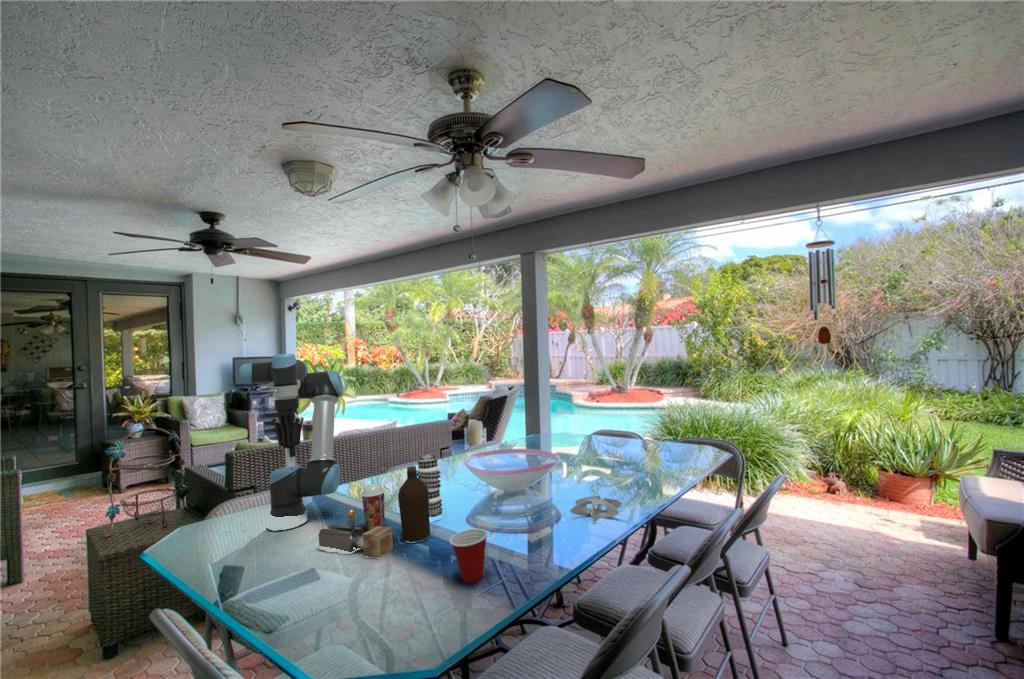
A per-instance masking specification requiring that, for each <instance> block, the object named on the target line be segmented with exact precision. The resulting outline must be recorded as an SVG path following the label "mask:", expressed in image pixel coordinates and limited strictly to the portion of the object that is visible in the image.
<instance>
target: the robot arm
mask: <svg viewBox="0 0 1024 679" xmlns="http://www.w3.org/2000/svg"><path fill="white" fill-rule="evenodd" d="M238 377H239V378H238V379H239V381H240V383H242V384H243V385H253V384H255V385H257V384H258V385H261V386H263V387H266V388H271V389H273V397H274V399H275V400H274V402H273V403H274V410H275V411H277V413H276V417H275V418H273V419H271V422H272V423H273V426H274V429H275V433H276V439H277V443H278V445H279V447H282V448H283V453H284V454H283V455H284V460H285V466H284V467H280V468H278V469H276V470H273V471H272V472H270V474H269V483H268V485H269V493H270V494H269V498H270V512H269V515H270V514H271V515H272V516H275V517H284V516H298V515H302V514H304V513H305V510H306V507H305V505H304V501H303V498H307V497H316V496H326V495H331V494H334V493H335V492H336V491H337V490H338V488H339V485H340V482H341V474H342V473H341V466H340V464H338V463H337V460H336V459H335V458H334V436H335V413H336V412H335V409H336V404H337V403H338V402H339V397H342V396H343V395H344V384H343V380H342V378H341V375H340V372H338V371H335V370H327V371H316V372H314V371H313V372H309V367H308V364H307V363H306V362H305V361H303V360H300V359H297V358H296V355H295V354H294V353H282V354H281V353H280V354H274V355H273V356H272V358H271V361H268V362H267V361H264V362H249V363H244V364H242V365H241V366H240V367H239V371H238ZM306 399H307V400H309V399H310V402H311V403H312V404H313V417H312V418H313V420H312V434H311V435H312V436H311V452H310V459H308V460H307V462H306V467H302V466H301V465H300V464H296V454H297V453H296V447H297V446H299V445H300V443H301V436H302V435H301V434H302V426H303V422H304V420H305V419H304V417H302V416H301V417H300V416H299V413H298V410H297V409H299V407H300V406H299V405H300V402H299V400H306ZM301 467H302V468H301ZM306 511H307V510H306Z"/></svg>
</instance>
